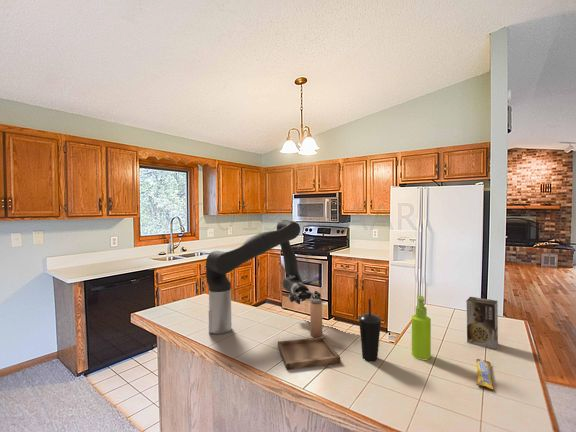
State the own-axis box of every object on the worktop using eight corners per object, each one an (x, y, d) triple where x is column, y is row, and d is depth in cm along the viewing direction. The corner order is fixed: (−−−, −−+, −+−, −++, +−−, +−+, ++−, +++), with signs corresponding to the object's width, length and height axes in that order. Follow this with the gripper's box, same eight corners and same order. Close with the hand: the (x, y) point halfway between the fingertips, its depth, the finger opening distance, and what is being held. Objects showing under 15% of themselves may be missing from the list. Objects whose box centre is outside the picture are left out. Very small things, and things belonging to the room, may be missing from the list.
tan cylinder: (312, 337, 115) (312, 302, 115) (309, 333, 120) (308, 299, 120) (324, 336, 116) (323, 301, 116) (320, 331, 121) (320, 298, 121)
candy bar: (475, 362, 96) (475, 356, 96) (491, 366, 94) (491, 360, 94) (475, 389, 82) (475, 382, 82) (493, 394, 80) (493, 387, 80)
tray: (286, 369, 92) (286, 363, 92) (277, 347, 108) (277, 341, 108) (340, 363, 96) (340, 357, 96) (324, 342, 111) (324, 336, 111)
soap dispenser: (429, 351, 103) (428, 295, 103) (431, 361, 96) (431, 300, 96) (411, 349, 105) (410, 293, 105) (412, 358, 98) (412, 299, 98)
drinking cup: (383, 365, 94) (382, 303, 94) (358, 362, 96) (358, 302, 96) (380, 353, 102) (380, 296, 102) (358, 351, 103) (357, 295, 103)
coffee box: (498, 343, 108) (498, 300, 108) (495, 350, 104) (495, 304, 104) (470, 336, 115) (470, 295, 114) (466, 342, 110) (466, 299, 110)
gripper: (285, 284, 143) (292, 294, 127) (313, 282, 146) (324, 291, 130) (285, 299, 143) (293, 311, 127) (313, 297, 146) (324, 308, 130)
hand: (308, 301), depth 129 cm, fingers open, 8 cm apart
